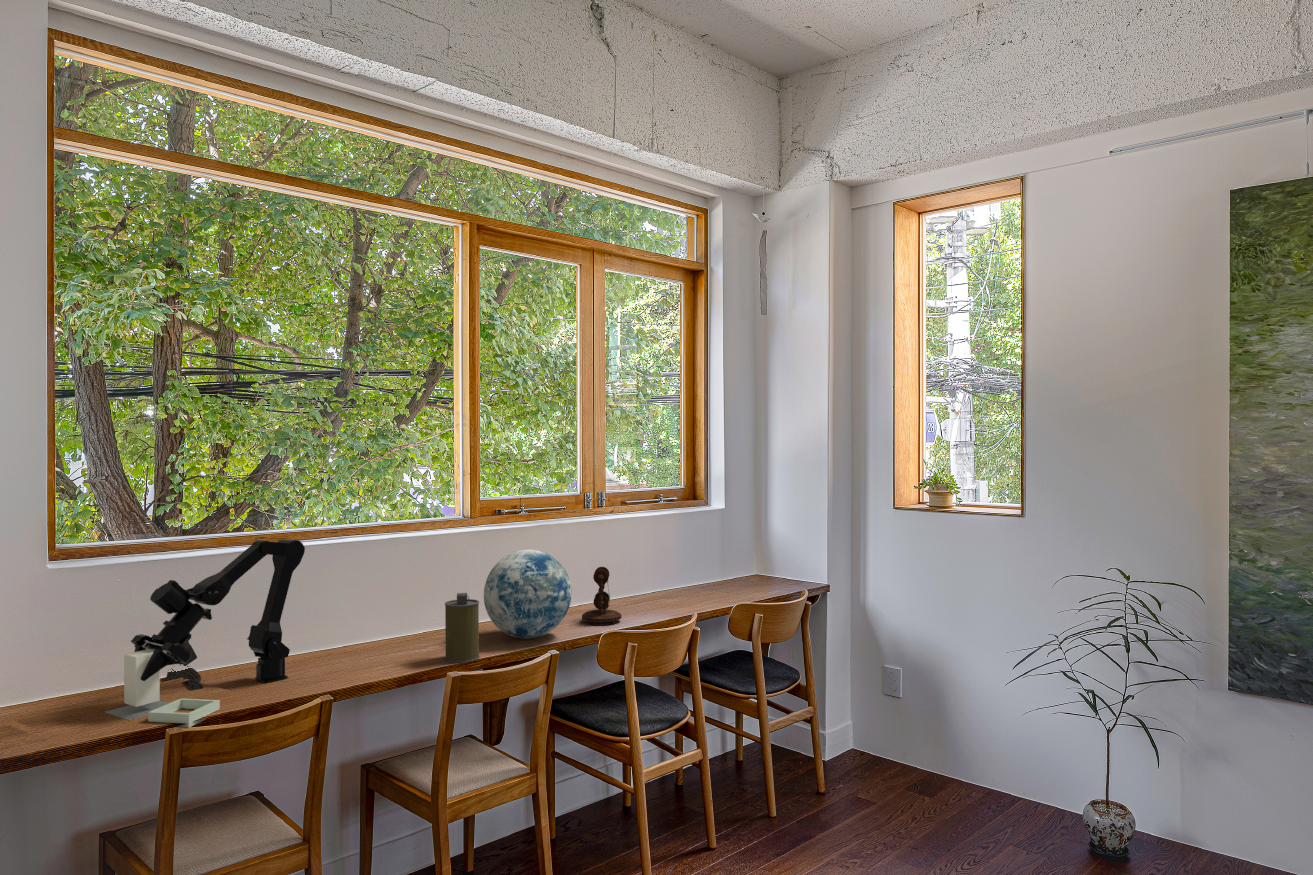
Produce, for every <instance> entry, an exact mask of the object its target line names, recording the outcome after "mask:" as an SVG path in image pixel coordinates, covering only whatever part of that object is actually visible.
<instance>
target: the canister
mask: <svg viewBox="0 0 1313 875" xmlns="http://www.w3.org/2000/svg"><path fill="white" fill-rule="evenodd" d="M479 604H480V601H479V600H478V599H473V598H470V597H469V595H468V593H467V592H458V593H457V594H456V599H451V600H448V601H447V600H446V601H445V603H444V606H445V612H444V613H445V616H444V617H445V618H444V619H445V626H444V627H445V628H444V629H445V657H444V661H446V662H448V663H453V664H461V663H462V664H463V663H465V664H466V663H471V662H474V660H475V661H477V660H478V659H480V652H479V650H480V644H479V643H480V642H479V641H480V638H479V635H480V634H479V633H480V632H479V628H480V625H479V614H480V613H479V612H480V611H479Z"/></svg>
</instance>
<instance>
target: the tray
mask: <svg viewBox="0 0 1313 875" xmlns="http://www.w3.org/2000/svg"><path fill="white" fill-rule="evenodd" d="M220 701H221V700H220V699H199V698H198V699H196V698H179V699H177V700H174V701H172V702H171V701H170V702H168V703H169V704H167V705H164V706H162V707H160V708H157V709H155V710H153V711H150V712H148V716H147V719H148V720H147V721H148V722H153V723H154V722H155V723H168V724H169V723H173V724H174V723H175V724H181V725H176V728H187V729H188V728H189V729H190V728H191V727H193V726H195V725H197V724H199V723H202V722H203V721H205V720H207V719H206V718H207V717H205V716H209V714H212V713H214V712H216V711H218V710H220V709H221V708H220V707H221V705H220V704H221V703H220ZM182 709H187V710H188V709H190V710H191V711H190V712H177V711H179V710H182ZM203 717H205V718H203Z"/></svg>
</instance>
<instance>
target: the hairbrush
mask: <svg viewBox="0 0 1313 875" xmlns="http://www.w3.org/2000/svg"><path fill="white" fill-rule="evenodd" d="M187 667H192V666H188V665H187ZM171 669H172V668H171ZM172 670H173V669H172ZM173 671H174V670H173ZM201 677H202V676H201V674H200V673H199V672H198V671H197V670H196V669H194V667H192V668H188V669H185V670H181V671H177V672H176V671H174V672H172V671H171V672H168V671H167V673H166V677H165V682H169V681H174V680H176V682H179V681H180V680H181V679H182V680H184V681H182V684H187V686H188V690H189V691H196V690H203V689H204V685H203V684H201V681H202V678H201ZM188 679H189V680H188Z"/></svg>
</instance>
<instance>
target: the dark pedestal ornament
mask: <svg viewBox="0 0 1313 875" xmlns="http://www.w3.org/2000/svg"><path fill="white" fill-rule="evenodd" d="M592 576H593V577H592V579H593V581H594V582H595V583H596V585H597V586H598V587H599V588H598V590H597V592H596V594H595V595H594V599H593V605H594V608H596V609H592V610H591V609H590V610H588V611H585V612H584V613H582V615H581V620H583V621H585V622H586V624H587V625H590V622H591V623H606V622H607V623H609V622H612V624H613V625H615V624H616V621H619V620H620V619H622V613H621V612H619V611H617V610H614V609H609V607H610V603H611V592H610V588H609V586H607V589H608V592H607V591H605V587H606V584H607V585H609V578H610V571H609V569H608V568H607V567H605V566H599V567H597V568H596V569H595V571H594V573H593V575H592Z"/></svg>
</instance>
